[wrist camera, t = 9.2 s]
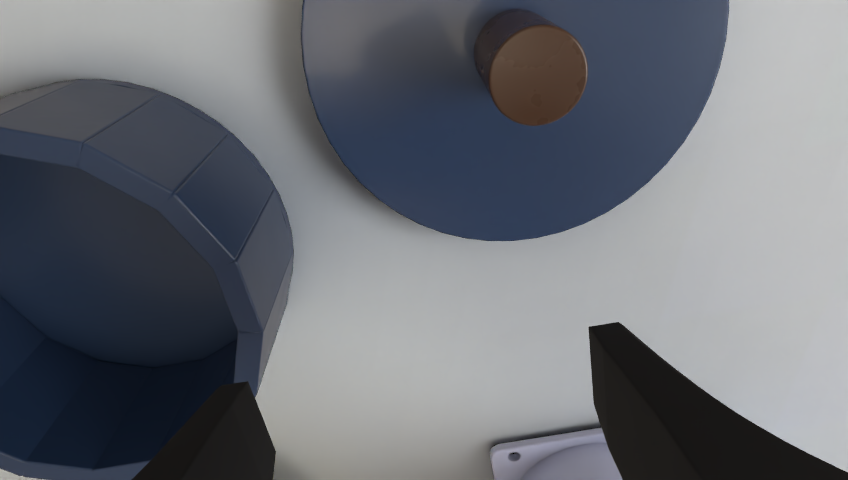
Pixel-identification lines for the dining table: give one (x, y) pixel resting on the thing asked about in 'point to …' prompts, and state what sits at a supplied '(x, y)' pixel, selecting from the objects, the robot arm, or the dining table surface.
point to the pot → (126, 274)
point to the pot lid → (509, 102)
